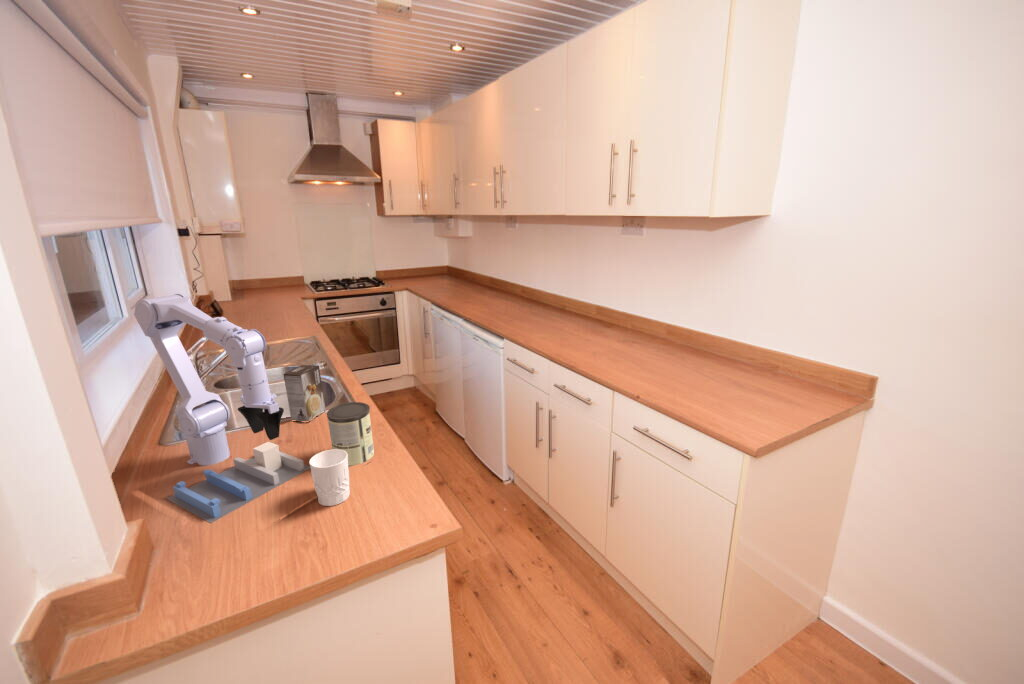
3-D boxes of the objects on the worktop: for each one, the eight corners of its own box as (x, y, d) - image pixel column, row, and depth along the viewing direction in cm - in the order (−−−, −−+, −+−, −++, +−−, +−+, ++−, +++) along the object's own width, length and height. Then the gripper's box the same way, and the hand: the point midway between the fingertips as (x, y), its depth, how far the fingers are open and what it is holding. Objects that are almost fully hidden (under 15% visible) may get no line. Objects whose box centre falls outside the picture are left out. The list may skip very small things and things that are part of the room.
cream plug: (257, 470, 110) (252, 448, 109) (272, 462, 114) (268, 441, 112) (266, 474, 108) (262, 452, 107) (282, 466, 112) (278, 445, 110)
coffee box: (309, 410, 148) (302, 364, 144) (326, 411, 147) (320, 365, 142) (290, 421, 139) (282, 373, 135) (308, 423, 138) (301, 374, 134)
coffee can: (334, 453, 120) (327, 404, 116) (374, 446, 123) (369, 399, 119) (332, 473, 110) (325, 421, 107) (375, 465, 114) (369, 414, 110)
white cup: (343, 483, 106) (338, 445, 103) (358, 497, 101) (353, 457, 98) (309, 497, 101) (303, 458, 98) (323, 513, 95) (317, 471, 93)
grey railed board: (167, 502, 100) (163, 486, 99) (268, 453, 120) (265, 440, 119) (211, 527, 91) (207, 510, 90) (312, 470, 112) (310, 456, 110)
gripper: (286, 380, 103) (297, 434, 107) (256, 373, 112) (267, 422, 115) (255, 390, 98) (268, 446, 101) (226, 381, 106) (239, 433, 110)
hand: (266, 434), depth 108 cm, fingers open, 7 cm apart
